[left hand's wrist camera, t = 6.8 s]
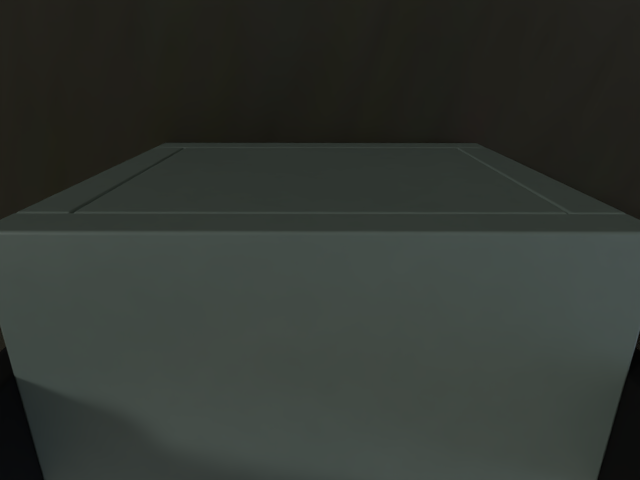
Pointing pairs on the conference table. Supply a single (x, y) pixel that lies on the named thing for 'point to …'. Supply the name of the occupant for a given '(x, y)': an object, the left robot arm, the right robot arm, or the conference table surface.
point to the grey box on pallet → (320, 316)
